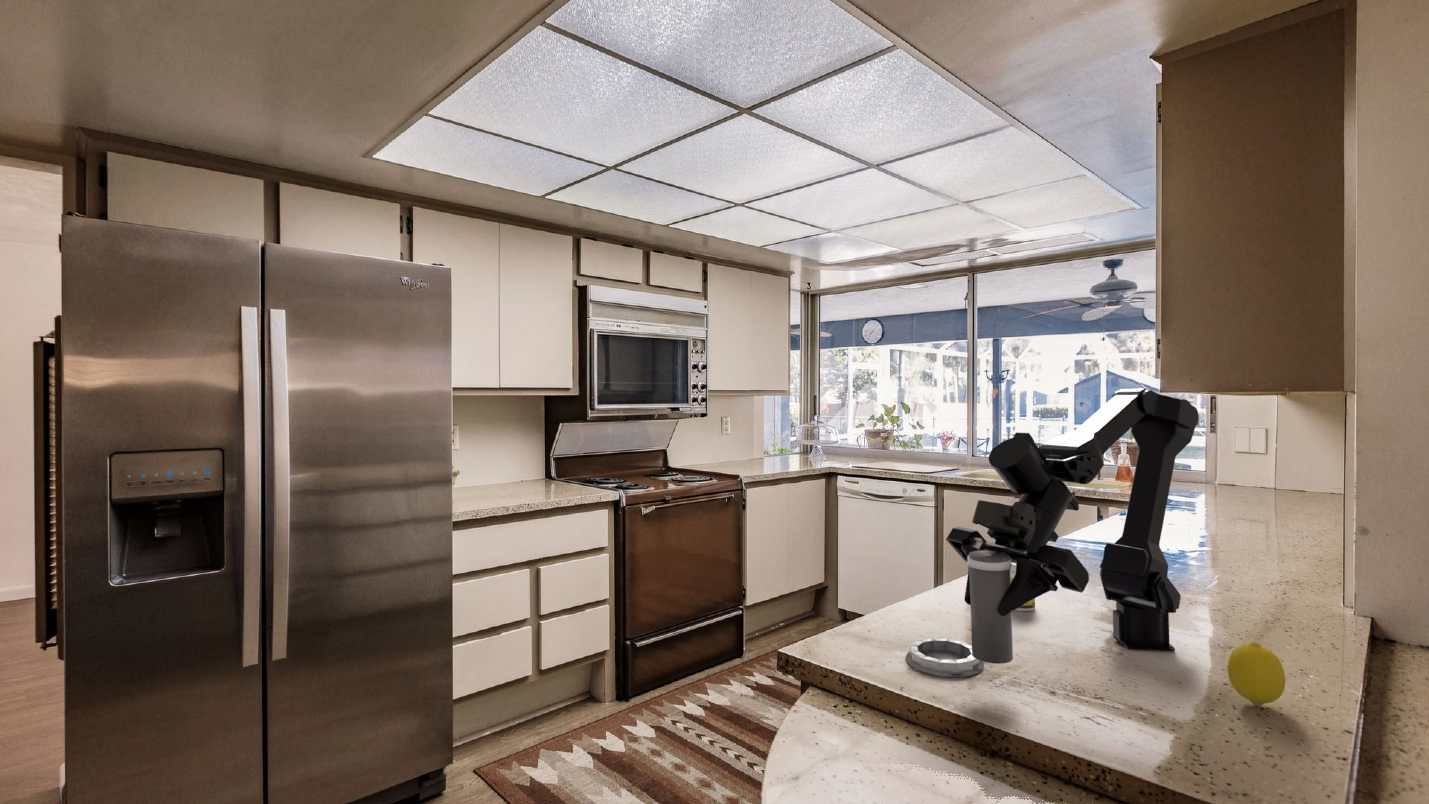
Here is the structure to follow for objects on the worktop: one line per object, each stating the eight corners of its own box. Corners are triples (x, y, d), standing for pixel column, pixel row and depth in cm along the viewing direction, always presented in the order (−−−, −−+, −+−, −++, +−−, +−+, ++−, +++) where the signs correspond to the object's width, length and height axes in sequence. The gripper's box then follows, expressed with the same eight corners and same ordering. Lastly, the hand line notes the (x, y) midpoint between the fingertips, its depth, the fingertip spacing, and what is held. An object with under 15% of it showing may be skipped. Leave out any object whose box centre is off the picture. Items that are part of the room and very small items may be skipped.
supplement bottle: (1038, 612, 118) (1037, 566, 118) (1010, 611, 119) (1009, 565, 119) (1031, 604, 123) (1029, 559, 123) (1004, 603, 124) (1002, 559, 123)
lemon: (1217, 697, 84) (1215, 635, 84) (1257, 694, 85) (1255, 632, 84) (1256, 718, 79) (1254, 652, 78) (1298, 714, 79) (1297, 649, 79)
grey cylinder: (1009, 649, 89) (1006, 550, 89) (1018, 665, 84) (1015, 560, 84) (967, 647, 90) (964, 549, 90) (974, 663, 85) (971, 559, 85)
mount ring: (976, 649, 102) (976, 638, 102) (990, 679, 91) (990, 667, 91) (903, 646, 104) (903, 635, 104) (909, 675, 94) (908, 663, 94)
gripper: (953, 472, 97) (899, 557, 92) (1071, 485, 80) (1013, 590, 75) (991, 518, 101) (941, 603, 96) (1112, 540, 84) (1059, 644, 79)
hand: (983, 608), depth 86 cm, fingers closed on grey cylinder, 5 cm apart
